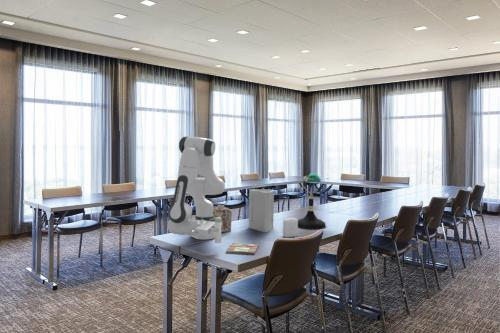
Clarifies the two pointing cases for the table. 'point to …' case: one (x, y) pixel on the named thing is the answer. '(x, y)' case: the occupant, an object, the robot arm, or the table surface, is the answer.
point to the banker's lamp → (310, 218)
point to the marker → (219, 229)
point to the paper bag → (261, 209)
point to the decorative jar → (223, 217)
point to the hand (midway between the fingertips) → (219, 229)
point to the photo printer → (290, 227)
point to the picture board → (242, 248)
